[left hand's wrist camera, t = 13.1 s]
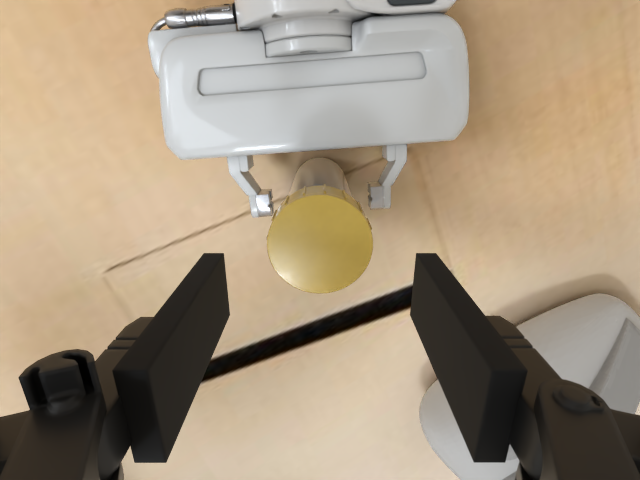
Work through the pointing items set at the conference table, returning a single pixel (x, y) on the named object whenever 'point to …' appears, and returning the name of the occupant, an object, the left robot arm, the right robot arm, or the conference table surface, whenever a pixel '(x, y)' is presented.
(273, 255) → the lid
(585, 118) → the conference table surface
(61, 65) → the conference table surface
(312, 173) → the blue-grey bottle
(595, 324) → the projector
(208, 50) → the right robot arm
